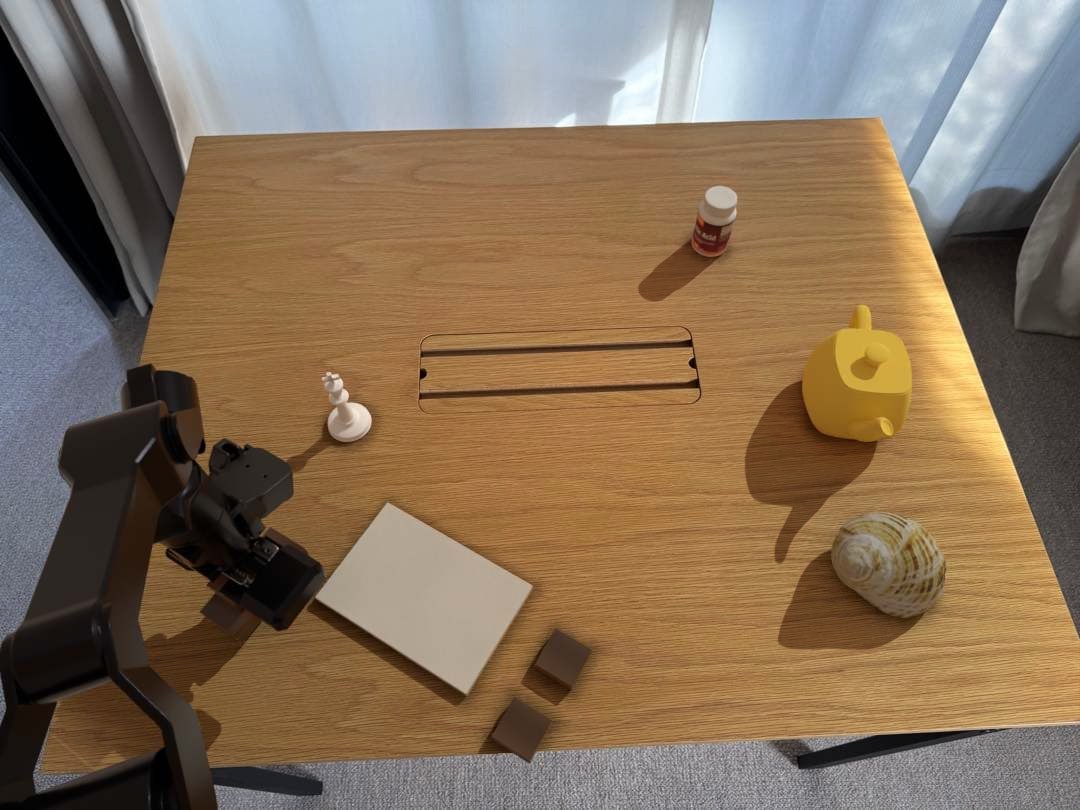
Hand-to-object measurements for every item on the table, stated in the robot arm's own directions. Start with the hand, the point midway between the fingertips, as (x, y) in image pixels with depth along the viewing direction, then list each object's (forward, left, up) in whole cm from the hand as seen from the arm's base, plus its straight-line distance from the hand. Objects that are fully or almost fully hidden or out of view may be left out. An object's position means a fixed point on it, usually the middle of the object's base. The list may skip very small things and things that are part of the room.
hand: (252, 579), depth 74 cm
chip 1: (+2, -29, -4) cm, 29 cm away
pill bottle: (+66, -19, -4) cm, 69 cm away
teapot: (+50, -43, -4) cm, 66 cm away
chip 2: (+10, -29, -4) cm, 31 cm away
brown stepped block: (0, 0, -3) cm, 3 cm away
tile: (+8, -14, -4) cm, 17 cm away
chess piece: (+20, +5, -4) cm, 21 cm away
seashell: (+33, -52, -4) cm, 62 cm away
